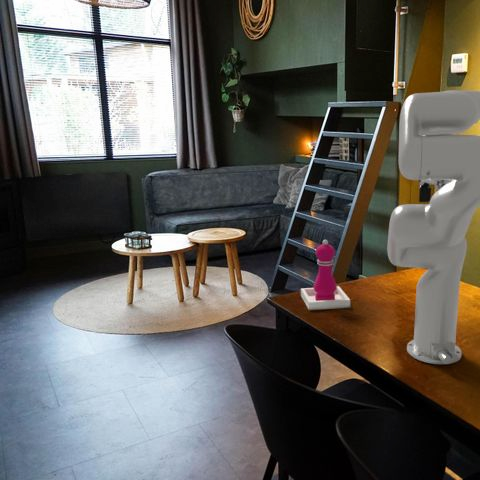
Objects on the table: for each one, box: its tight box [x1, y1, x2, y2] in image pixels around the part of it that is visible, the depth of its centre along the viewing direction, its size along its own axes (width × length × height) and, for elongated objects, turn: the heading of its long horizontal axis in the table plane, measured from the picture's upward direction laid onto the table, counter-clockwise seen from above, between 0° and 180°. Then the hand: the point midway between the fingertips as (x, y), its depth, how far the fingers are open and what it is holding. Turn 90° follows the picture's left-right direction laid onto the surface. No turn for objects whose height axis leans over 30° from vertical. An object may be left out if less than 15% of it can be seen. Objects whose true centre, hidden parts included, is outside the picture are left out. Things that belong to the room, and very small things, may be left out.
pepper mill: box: [313, 239, 338, 301], centre depth 156 cm, size 7×7×20 cm
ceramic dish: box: [300, 285, 351, 311], centre depth 158 cm, size 13×13×2 cm
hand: (432, 204), depth 136 cm, fingers open, 9 cm apart
